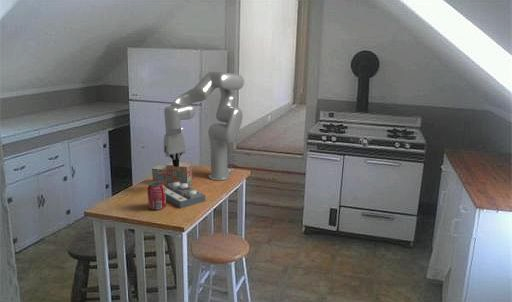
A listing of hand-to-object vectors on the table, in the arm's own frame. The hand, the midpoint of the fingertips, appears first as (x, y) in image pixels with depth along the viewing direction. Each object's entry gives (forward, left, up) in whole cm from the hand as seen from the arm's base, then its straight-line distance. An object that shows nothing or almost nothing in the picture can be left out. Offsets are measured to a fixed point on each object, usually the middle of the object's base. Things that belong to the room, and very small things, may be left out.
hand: (176, 165), depth 203 cm
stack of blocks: (-4, -13, -15) cm, 20 cm away
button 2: (+1, +16, -11) cm, 20 cm away
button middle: (+1, +8, -10) cm, 13 cm away
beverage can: (+17, +12, -15) cm, 26 cm away
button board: (+3, +8, -14) cm, 17 cm away
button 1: (+1, 0, -11) cm, 11 cm away
